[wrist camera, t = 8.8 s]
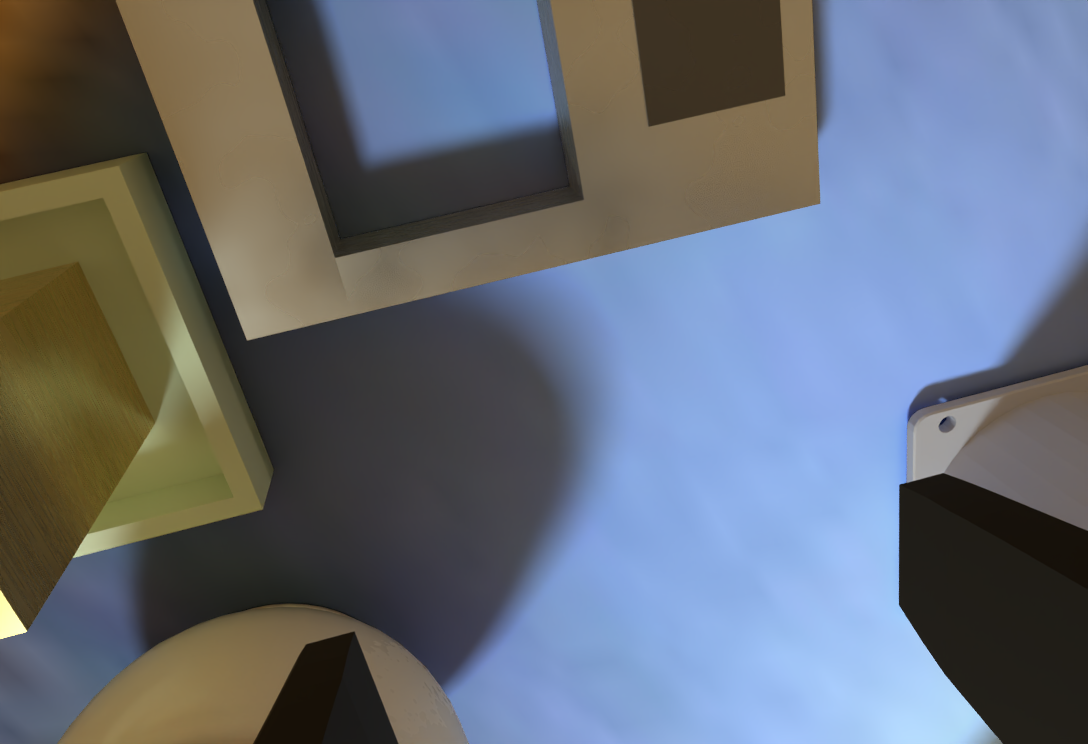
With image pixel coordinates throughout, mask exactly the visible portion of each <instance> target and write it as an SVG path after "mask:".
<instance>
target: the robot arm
mask: <svg viewBox="0 0 1088 744" xmlns="http://www.w3.org/2000/svg"><path fill="white" fill-rule="evenodd" d="M945 417H947V419H946V421H945V422H944V423H943V424H942V425H940V426H939V424H940V422H941V421H942V419H943V418H945ZM899 606H900V607H901V609H902V610H903V612H904V613H905V615H906V617H907V619H908V620H909V621H910V623H911V624H912V626H913V628H914V629H915V631H916V632H917V634H918V635H919V637H920V638H921V640H922V642H923V643H924V645H925V646H926V647H927V649H928V650H929V652H930V653H931V655H932V656H933V658H934V659H935V661H936V662H937V664H938V665H939V667H940V668H941V669H942V671H943V672H944V674H945V675H946V676H947V677H948V679H949V680H950V681H951V682H952V683H953V685H954V686H955V687H956V688H957V690H958V691H959V692H960V693H961V694H962V696H963V697H964V698H965V699H966V700H967V701H968V703H969V704H970V705H971V706H972V707H973V709H974V710H975V711H976V712H977V713H978V715H979V716H980V717H981V718H982V719H983V720H984V722H985V723H986V724H987V725H988V726H989V728H990V729H991V730H992V731H993V732H994V733H995V735H996V736H997V737H998V738H999V739H1000V740H1001V742H1002V743H1003V744H1088V365H1086V366H1082V367H1078V368H1075V369H1071V370H1067V371H1063V372H1059V373H1056V374H1052V375H1048V376H1044V377H1040V378H1036V379H1033V380H1029V381H1025V382H1021V383H1017V384H1014V385H1010V386H1006V387H1002V388H998V389H994V390H991V391H987V392H983V393H979V394H975V395H972V396H968V397H964V398H960V399H956V400H952V401H949V402H945V403H941V404H937V405H933V406H930V407H926V408H923V409H920V410H918V411H917V412H915V413H914V414H913V415H912V416H911V418H910V420H909V421H908V425H907V483H904V484H900V485H899ZM253 744H398V741H397V739H396V736H395V734H394V731H393V728H392V726H391V723H390V721H389V718H388V716H387V713H386V710H385V708H384V705H383V703H382V700H381V698H380V695H379V693H378V690H377V687H376V685H375V682H374V680H373V677H372V675H371V672H370V669H369V667H368V664H367V662H366V659H365V657H364V654H363V652H362V649H361V646H360V644H359V641H358V639H357V636H356V634H355V631H353V632H350V633H346V634H342V635H339V636H335V637H331V638H327V639H324V640H320V641H316V642H312V643H309V644H306V645H305V647H304V648H303V650H302V651H301V653H300V654H299V656H298V658H297V660H296V662H295V664H294V666H293V668H292V670H291V672H290V674H289V675H288V677H287V679H286V681H285V683H284V685H283V687H282V689H281V691H280V693H279V695H278V697H277V699H276V701H275V703H274V705H273V707H272V709H271V710H270V712H269V714H268V716H267V718H266V720H265V722H264V724H263V726H262V728H261V729H260V731H259V733H258V735H257V737H256V739H255V741H254V743H253Z"/></svg>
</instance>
